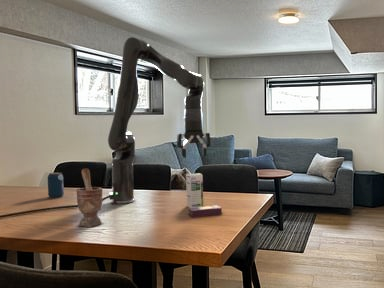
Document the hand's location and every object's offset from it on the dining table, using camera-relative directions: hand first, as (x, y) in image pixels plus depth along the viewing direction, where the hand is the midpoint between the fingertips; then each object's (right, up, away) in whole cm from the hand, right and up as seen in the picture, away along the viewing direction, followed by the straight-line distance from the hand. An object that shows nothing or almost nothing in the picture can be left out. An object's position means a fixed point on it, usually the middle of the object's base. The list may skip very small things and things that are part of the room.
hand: (194, 157), depth 167 cm
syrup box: (0, -22, +1) cm, 22 cm away
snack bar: (+6, -22, -12) cm, 26 cm away
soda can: (-73, -21, +25) cm, 80 cm away
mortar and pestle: (-35, -24, -26) cm, 49 cm away
